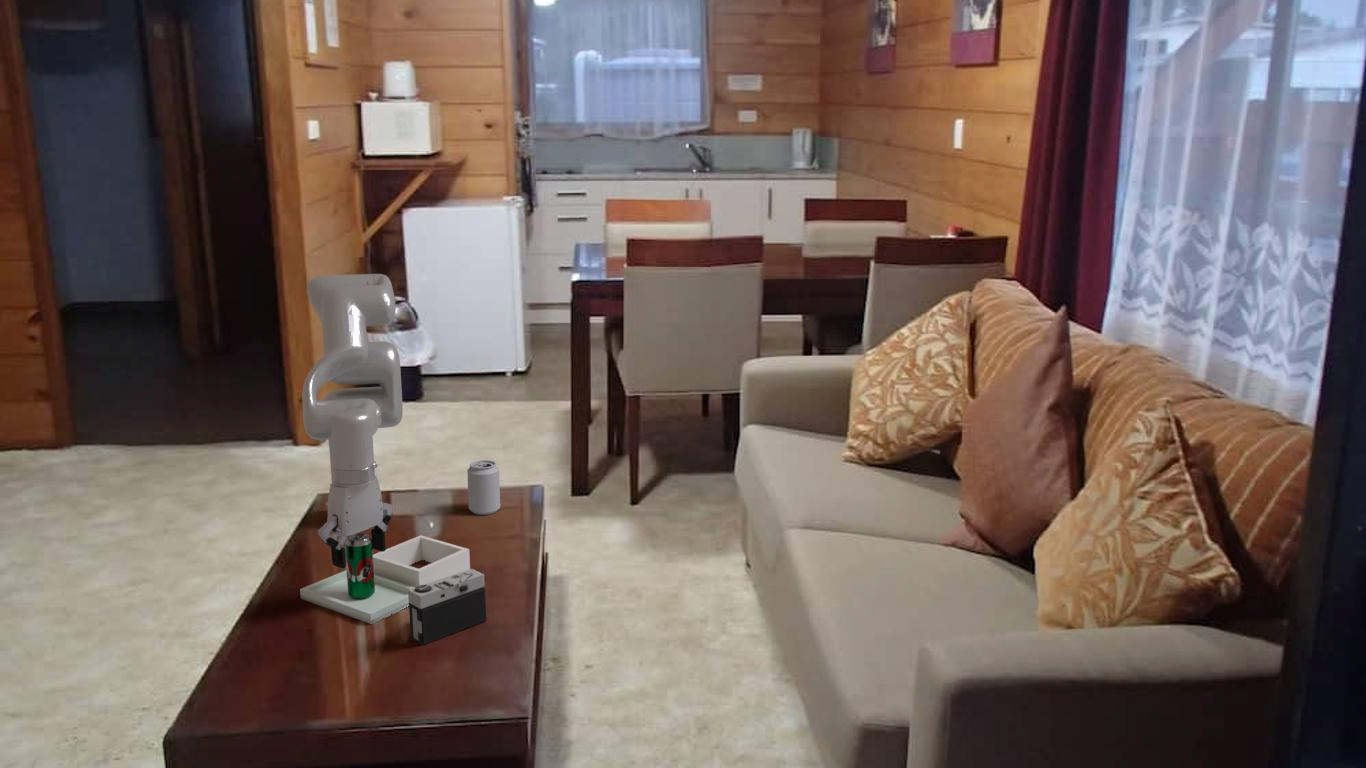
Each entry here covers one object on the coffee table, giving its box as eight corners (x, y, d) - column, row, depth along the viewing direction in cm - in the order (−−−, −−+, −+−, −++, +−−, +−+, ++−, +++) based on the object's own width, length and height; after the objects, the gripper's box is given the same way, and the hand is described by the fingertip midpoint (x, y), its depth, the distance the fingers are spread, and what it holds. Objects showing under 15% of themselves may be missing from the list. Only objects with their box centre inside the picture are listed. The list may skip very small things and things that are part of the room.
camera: (462, 608, 205) (460, 559, 203) (488, 622, 200) (486, 572, 197) (398, 632, 196) (395, 581, 193) (422, 647, 190) (420, 594, 188)
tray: (300, 598, 209) (300, 589, 208) (353, 576, 219) (353, 567, 219) (371, 624, 198) (370, 614, 198) (423, 599, 209) (422, 590, 208)
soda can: (379, 590, 211) (375, 532, 208) (369, 601, 206) (365, 542, 203) (354, 588, 212) (350, 531, 209) (343, 599, 207) (339, 541, 204)
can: (497, 516, 254) (495, 468, 252) (465, 515, 255) (463, 467, 252) (503, 505, 262) (501, 458, 259) (472, 505, 262) (470, 458, 259)
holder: (371, 579, 218) (369, 556, 217) (422, 557, 230) (420, 535, 228) (420, 595, 211) (418, 571, 210) (470, 571, 222) (469, 549, 221)
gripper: (375, 458, 212) (380, 539, 216) (303, 482, 198) (309, 568, 202) (402, 465, 208) (406, 548, 212) (330, 490, 194) (336, 578, 198)
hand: (359, 558), depth 207 cm, fingers open, 9 cm apart
